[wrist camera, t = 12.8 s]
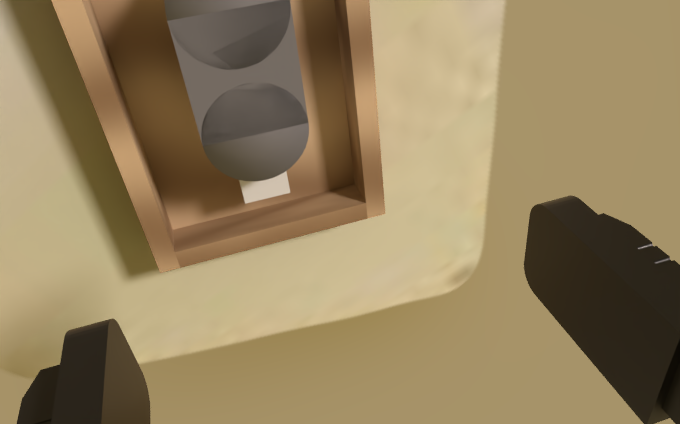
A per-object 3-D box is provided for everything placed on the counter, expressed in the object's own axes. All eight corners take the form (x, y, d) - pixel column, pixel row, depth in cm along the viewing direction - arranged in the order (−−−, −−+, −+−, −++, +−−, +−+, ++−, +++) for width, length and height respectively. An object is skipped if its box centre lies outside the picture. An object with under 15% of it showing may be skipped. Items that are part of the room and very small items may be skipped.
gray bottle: (127, -139, 20) (123, -134, 17) (246, -155, 21) (266, -153, 17) (216, 180, 28) (226, 229, 25) (300, 160, 29) (321, 205, 25)
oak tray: (-22, -227, 18) (-43, -235, 16) (327, -265, 20) (348, -277, 18) (159, 242, 30) (160, 272, 28) (369, 189, 32) (385, 213, 30)
